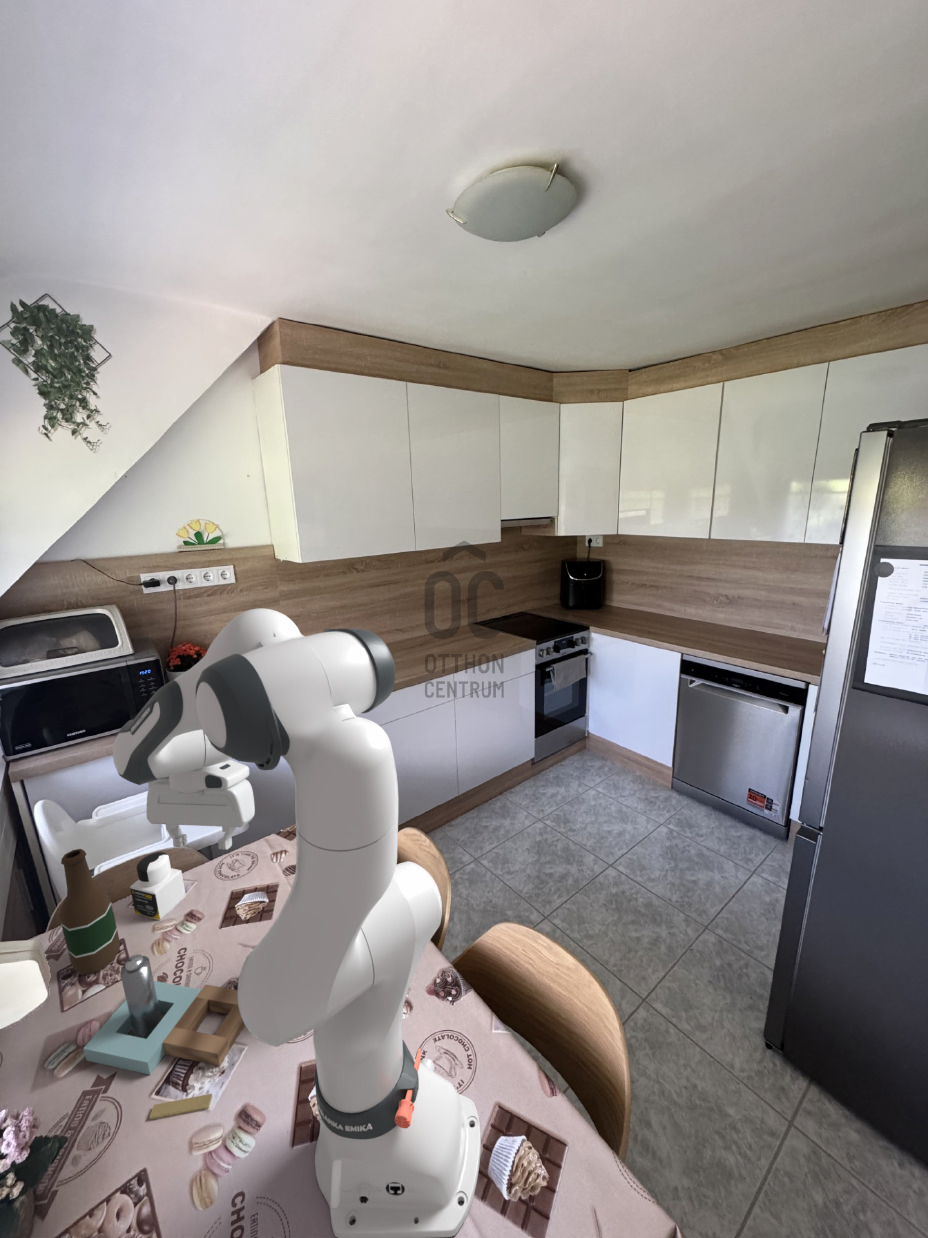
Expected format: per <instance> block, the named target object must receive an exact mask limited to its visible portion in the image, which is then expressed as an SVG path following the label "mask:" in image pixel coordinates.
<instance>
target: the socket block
mask: <svg viewBox="0 0 928 1238" xmlns="http://www.w3.org/2000/svg"><path fill="white" fill-rule="evenodd" d="M237 993H238V989H233V988H226V987H223V986H215V985H210V984H204V986H203V987H202V989H201V991H200V993H199V994H198V995H197V997H196V998H195V999H194V1001H193V1002H192V1003H191V1005H190V1006H189V1007H188V1009H187V1010H186V1011H185V1013H184V1014H183V1015H182V1017H181V1018H180V1020H179V1021H178V1022H177V1024H176V1025H175V1026H174V1028H173V1029H172V1030H171V1032H170V1033H169V1034H168V1036H167V1037H166V1038H165V1040H164V1041H163V1047H164V1051H165V1055H166V1056H172V1057H176V1058H180V1059H184V1060H189V1061H195V1062H200V1063H204V1064H208V1065H213V1066H217V1067H221V1065H222V1063H223V1062H224V1060H225V1059H226V1056H227V1055H228V1053H229V1052H230V1050H231V1049H232V1047H233V1045H234V1044H235V1042H236V1041H237V1039H238V1036H239V1035H240V1033H241V1032H242V1030H243V1028H244V1027H245V1024H244V1022H243V1020H242V1017H241V1015H240V1011H239V1006H238V996H237ZM210 1012H213V1013H214V1012H215V1013H220V1014H226V1017H225V1018H224V1020H223V1022H222V1023H221V1024H220V1026H219V1028H218V1029H217V1031H216V1032H215V1033H214V1034H210V1033H209V1034H208V1033H204V1032H201V1031H198V1029H199V1028H200V1026H201V1024H202V1023H203V1022H204V1021H205V1019H206V1018H207V1016H208V1015H209V1013H210Z"/></svg>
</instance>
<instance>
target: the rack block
mask: <svg viewBox="0 0 928 1238" xmlns="http://www.w3.org/2000/svg"><path fill="white" fill-rule="evenodd" d="M154 985H155V990H156V995H157V999H158V1004H159V1009H160V1013H161V1012H162V1013H166V1014H164V1016H163V1017H162V1020H161V1021H160V1022H159V1024H158V1025H157V1026H156V1028H155V1029H154V1030H153V1031H152V1033H151V1034H150V1035H149V1037H148V1038H147V1039H144V1038H139V1037H135V1036H133V1035H129V1034H128V1033H129V1032H130V1031H131V1029H133V1027H132V1023H131V1018H130V1014H129V1010H128V1005H127V1001H126V999H125V1000H124V1001H123V1002H122V1004H121V1005H120V1006H119V1007H118V1008H117V1010H115V1011H114V1012H113V1013H112V1015H111V1016H110V1017H109V1019H108V1020H107V1021H106V1022H105V1023H104V1024H103V1026H102V1027H101V1028H100V1029H99V1030H98V1031H97V1032H96V1033H95V1034H94V1035H93V1036H92V1037H91V1039H90V1040H89V1041H88V1043H86V1044H85V1046H84V1047H83V1053H84V1057H85V1060H86V1061H88V1062H92V1063H95V1064H100V1065H103V1066H104V1065H105V1066H110V1067H113V1068H117V1069H118V1068H119V1069H123V1070H127V1071H132V1072H135V1073H141V1074H144V1075H149V1076H150V1075H152V1073H153V1072H154V1070H155V1069H156V1068H157V1067H158V1065H159V1064H160V1062H161V1061H162V1059H163V1058H164V1056H165V1055H166V1054H165V1051H164V1047H163V1041H164V1040H165V1038H166V1037H167V1036H168V1034H169V1033H170V1032H171V1030H172V1029H173V1028H174V1026H175V1025H176V1024H177V1022H178V1021H179V1020H180V1018H181V1017H182V1015H183V1014H184V1013H185V1011H186V1010H187V1009H188V1007H189V1006H190V1005H191V1003H192V1002H193V1001H194V999H195V998H196V997H197V995H198V994H199V993H200V991H201V990H202V989H201V988H200V989H199V988H194V987H188V986H182V985H178V984H173V983H167V982H162V981H157V980H154Z"/></svg>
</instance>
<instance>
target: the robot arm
mask: <svg viewBox="0 0 928 1238" xmlns="http://www.w3.org/2000/svg"><path fill="white" fill-rule="evenodd" d="M300 631H301V630H300V629H299V627H298V626H297V625H296V624H295V622H294V621H293V620H292V619H291V618H289V617H288V615H285V614H284V613H282V612H280V611H277V610H274V609H269V608H264V607H263V608H262V607H261V608H252V609H249V610H246V611H242V612H241V613H239V614H238V615H236V616H235V617H234V618H232V619H231V620H230V621H229V622H228V623H227V624H226V625H225V626H224V627H223V628H222V630H220V632H219V633H218V634H217V635H216V636H215V638H214V639H213V640H212V642H211V644H210V645H209V647H208V649H207V652H206V653H205V655H204V656H203V657H202V658H201V659H200V660H199V661H198V662H197V663H196V664H194V665H193V666H192V667H190V669H187V670H186V671H185V672H183V673H182V674H180V675H179V676H178V677H176V678H174V679H173V680H170V681H169V682H167V683H166V684H164V685H163V686H161V687H160V688H158V689H157V690H156V691H155V692H154V694H153V695H151V697H150V698H149V700H148V701H147V702H146V703H145V705H144V706H143V707H142V708H141V710H140V711H139V712H138V713H137V714H136V716H135V717H134V718H133V719H129V720H128V721H127V722H126V723H125V724H124V725H123V726H121V728H120V729H119V730H118V731H117V733H116V735H115V738H114V743H113V746H112V757H113V758H112V759H113V763H114V767H115V769H116V771H117V774H118V775H119V777H121V778H123V779H124V780H126V781H128V782H129V783H132V784H135V785H137V786H141V785H145V784H147V783H148V784H147V785H148V791H147V797H146V819H147V821H148V822H149V823H150V824H152V825H165V830H166V832H167V833H168V834H169V836H170V838H171V839H172V844H173V848H183V847H184V846H186V845H187V843H188V839H187V838H188V836H187V833H183V831H182V829H181V827H180V826H194V827H195V826H196V827H199V826H201V827H221V828H222V829H221V830H222V832H223V833H224V835H223V837H221V838H220V839H218V840H217V844H218V850H228V849H230V848H231V847H232V845H233V838H232V837H233V835H234V833H235V831H236V829H237V828H242V827H244V826H246V825H247V824H249V822H251V821H252V820H253V818H254V816H255V814H256V813H255V812H256V810H255V809H256V808H255V797H254V790H253V787H252V784H251V783H250V781H249V780H248V779H247V778H248V777H249V776H250V768H249V766H248V765H246V764H243V763H240V762H244V763H251V764H252V763H254V765H255V766H256V767H257V768H258V769H259V771H260V770H261V771H272V770H274V769H276V768H277V766H278V765H279V763H280V761H281V757H282V758H283V759H284V760H285V761H286V763H287V764H288V766H289V768H290V770H291V772H292V775H293V776H292V777H293V780H294V787H295V789H294V792H295V803H294V804H295V805H294V811H295V812H294V813H295V816H294V817H295V837H296V838H295V839H296V858H295V859H296V860H295V861H296V862H295V875H294V879H293V882H292V884H291V888H290V891H289V894H288V896H287V898H286V900H285V902H284V904H283V906H282V908H281V910H280V911H279V914H278V916H277V917H276V918H275V920H274V922H273V924H272V925H271V926H270V928H269V930H268V931H267V932H266V934H265V935H264V936H263V937H262V939H261V940H260V941H259V942H258V943H257V945H256V946H255V947H254V948H253V949H252V951H250V952H249V953H248V954H247V956H246V957H245V960H244V962H243V964H242V968H241V969H240V973H239V977H238V983H237V990H238V993H237V996H238V1006H239V1011H240V1015H241V1017H242V1020H243V1022H244V1024H245V1025H244V1027H246V1029H247V1030H248V1031H249V1032H250V1034H251V1035H252V1036H253V1037H254V1038H256V1039H257V1040H258V1041H259V1042H261V1043H263V1044H266V1045H268V1046H272V1047H276V1048H278V1047H281V1046H282V1045H283V1046H284V1045H285V1044H288V1043H289V1042H291V1041H293V1040H295V1039H298V1038H300V1037H302V1036H304V1035H306V1034H308V1033H310V1032H312V1031H313V1032H312V1033H313V1034H312V1041H313V1049H314V1056H315V1065H316V1068H315V1076H314V1086H315V1097H316V1107H317V1110H318V1114H319V1116H320V1126H319V1135H318V1137H317V1142H316V1144H315V1152H314V1153H315V1155H314V1167H315V1168H314V1169H315V1175H316V1180H317V1182H318V1183H317V1184H318V1186H319V1189H320V1191H321V1193H322V1194H323V1196H324V1198H325V1200H326V1202H327V1204H328V1207H329V1214H330V1222H331V1224H330V1225H331V1229H332V1233H333V1235H334V1234H335V1235H334V1237H335V1236H336V1237H338V1238H450V1237H451V1238H452V1237H453V1236H454V1237H455V1235H457V1234H458V1231H459V1230H460V1229H461V1227H462V1226H463V1224H464V1222H465V1220H466V1218H467V1217H468V1214H469V1212H470V1209H471V1206H472V1203H473V1199H474V1195H475V1191H476V1187H477V1182H478V1176H479V1171H480V1161H481V1151H482V1150H481V1148H482V1147H481V1144H482V1143H481V1142H482V1135H481V1132H482V1131H481V1124H480V1118H479V1113H478V1111H477V1107H476V1104H475V1103H474V1100H472V1099H470V1098H469V1097H467V1096H465V1095H462V1094H460V1093H458V1091H457V1089H456V1087H455V1085H453V1083H452V1082H450V1081H449V1080H447V1079H446V1078H444V1077H443V1076H441V1075H439V1074H438V1073H437V1072H435V1070H436V1069H435V1068H436V1066H435V1064H434V1062H433V1061H432V1059H429V1058H427V1057H425V1058H424V1057H423V1058H422V1059H421V1054H422V1053H421V1048H418V1050H417V1054H416V1057H415V1058H414V1056H413V1055H412V1053H411V1052H410V1049H409V1048H408V1046H407V1044H406V1043H405V1041H404V1039H403V1010H404V1005H405V1002H406V999H407V995H408V991H409V988H410V986H411V983H412V979H413V977H414V974H415V972H416V969H417V966H418V964H419V961H420V960H421V958H422V955H423V954H424V952H425V950H426V948H427V946H428V944H429V943H430V942H431V939H432V938H433V936H434V935H435V933H436V932H437V930H438V929H439V928H440V926H441V921H442V916H443V903H442V897H441V893H440V890H439V887H438V885H437V883H436V881H435V880H434V878H433V876H432V875H431V874H430V873H429V872H428V871H427V870H426V869H425V868H423V866H420V864H417V863H415V862H412V861H408V860H407V861H404V862H401V863H398V840H399V839H398V837H399V836H398V835H399V785H398V784H399V783H398V775H397V769H396V768H397V767H396V761H395V756H394V751H393V747H392V742H391V740H390V737H389V736H388V733H387V732H386V731H385V730H384V729H383V727H381V725H379V724H378V723H376V722H374V721H373V720H370V719H368V718H366V717H360V716H358V715H360V714H367V713H369V712H371V711H372V710H374V709H376V708H377V707H378V706H380V705H382V704H383V702H385V701H386V700H387V699H388V698H389V697H390V696H391V694H392V693H393V691H394V687H395V683H396V668H395V661H394V658H393V655H392V653H391V650H390V649H389V647H388V645H387V644H386V643H385V642H384V640H383V639H381V637H379V636H378V635H377V634H376V633H375V632H372V631H371V630H368V629H362V628H349V627H347V628H345V627H344V628H324V629H323V630H322V632H319V633H313V634H311V635H310V634H309V635H307V636H306V635H303V634H302V633H301V632H300ZM235 760H236V761H235ZM397 863H398V864H397ZM471 1125H474V1126H473V1127H471ZM461 1201H462V1202H463V1204H462V1205H460V1204H459V1202H461ZM353 1220H354V1221H355V1223H353V1224H352V1225H351V1224H350V1223H351V1222H352V1221H353ZM336 1237H335V1238H336Z"/></svg>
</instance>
